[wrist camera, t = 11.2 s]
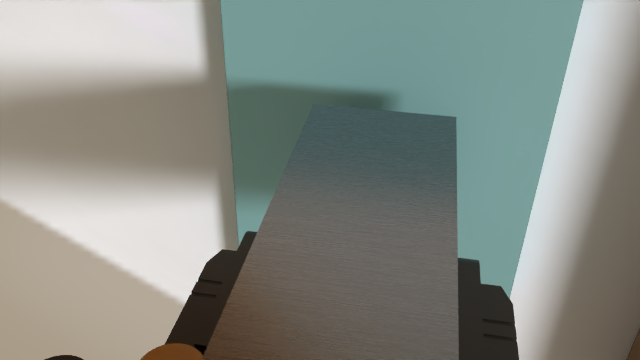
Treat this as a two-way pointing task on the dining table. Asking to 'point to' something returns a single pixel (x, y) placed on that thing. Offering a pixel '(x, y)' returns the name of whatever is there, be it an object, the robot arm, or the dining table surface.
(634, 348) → the brown slotted block
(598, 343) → the dining table surface
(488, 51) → the teal pad
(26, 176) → the dining table surface
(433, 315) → the steel plug
